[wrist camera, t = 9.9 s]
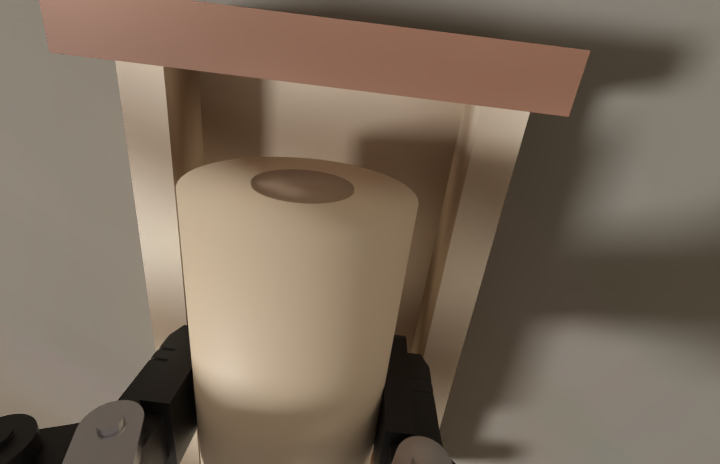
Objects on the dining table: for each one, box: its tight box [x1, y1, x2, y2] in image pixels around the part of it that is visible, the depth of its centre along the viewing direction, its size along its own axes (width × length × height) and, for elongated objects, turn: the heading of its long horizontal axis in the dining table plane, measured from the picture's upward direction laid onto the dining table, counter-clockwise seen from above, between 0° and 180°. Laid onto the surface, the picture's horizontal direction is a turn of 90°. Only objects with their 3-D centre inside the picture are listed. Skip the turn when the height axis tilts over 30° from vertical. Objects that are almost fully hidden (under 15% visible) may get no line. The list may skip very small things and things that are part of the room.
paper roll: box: [176, 157, 419, 464], centre depth 11 cm, size 12×5×5 cm, turn 174°
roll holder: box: [39, 0, 590, 464], centre depth 13 cm, size 18×10×5 cm, turn 174°
